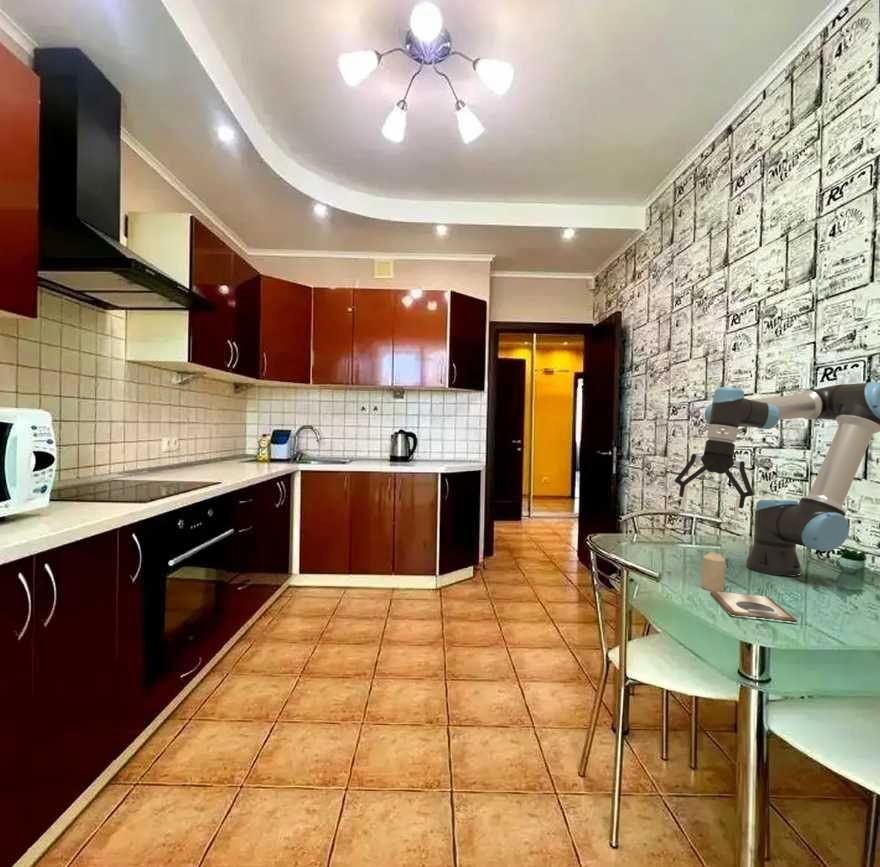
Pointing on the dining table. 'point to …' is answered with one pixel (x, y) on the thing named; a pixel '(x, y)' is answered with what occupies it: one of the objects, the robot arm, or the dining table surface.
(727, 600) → the brown tray
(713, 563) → the candle
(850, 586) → the dining table surface
